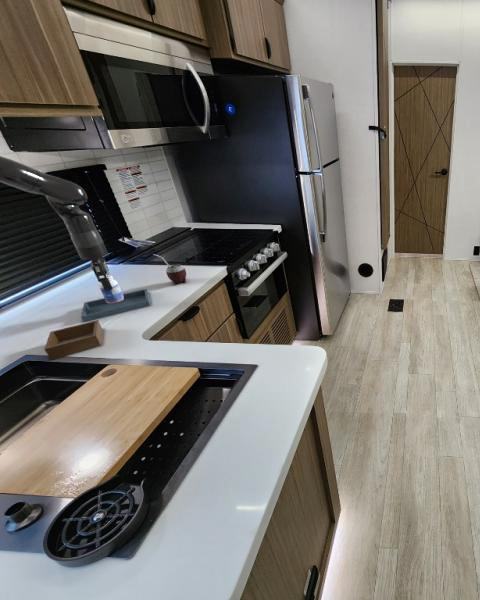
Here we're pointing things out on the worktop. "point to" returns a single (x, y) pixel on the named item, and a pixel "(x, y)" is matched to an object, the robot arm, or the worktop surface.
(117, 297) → the pill bottle
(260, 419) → the worktop surface
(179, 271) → the mate gourd
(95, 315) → the tray
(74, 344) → the basket
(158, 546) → the worktop surface
